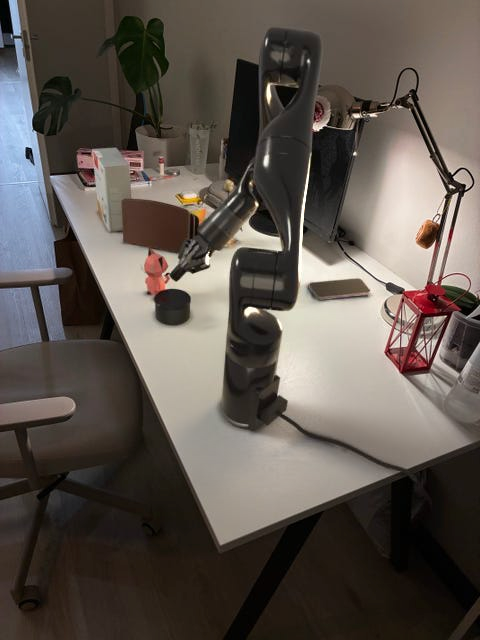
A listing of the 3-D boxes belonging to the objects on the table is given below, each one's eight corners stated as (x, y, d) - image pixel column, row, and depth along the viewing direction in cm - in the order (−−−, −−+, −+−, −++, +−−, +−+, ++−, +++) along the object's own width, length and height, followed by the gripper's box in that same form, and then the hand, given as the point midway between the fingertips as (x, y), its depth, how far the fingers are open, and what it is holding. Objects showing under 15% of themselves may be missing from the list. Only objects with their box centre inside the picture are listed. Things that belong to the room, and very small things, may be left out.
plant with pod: (249, 245, 149) (256, 179, 138) (214, 250, 145) (218, 183, 133) (238, 233, 155) (243, 169, 144) (204, 238, 151) (206, 172, 139)
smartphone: (308, 282, 133) (360, 277, 136) (307, 286, 134) (359, 281, 137) (317, 297, 127) (372, 292, 130) (317, 301, 128) (371, 295, 131)
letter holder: (188, 255, 141) (189, 208, 133) (122, 243, 144) (119, 196, 136) (199, 240, 149) (200, 195, 141) (136, 229, 152) (134, 183, 144)
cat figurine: (137, 292, 124) (134, 249, 117) (161, 284, 128) (159, 241, 121) (153, 305, 120) (151, 261, 113) (177, 296, 124) (176, 253, 117)
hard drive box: (97, 211, 160) (91, 148, 149) (121, 209, 163) (117, 147, 152) (108, 232, 149) (103, 166, 137) (134, 229, 152) (130, 164, 140)
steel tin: (197, 316, 118) (198, 299, 115) (171, 330, 113) (170, 313, 110) (174, 301, 122) (174, 284, 120) (147, 314, 117) (146, 297, 114)
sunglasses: (175, 230, 153) (173, 214, 151) (151, 218, 164) (150, 203, 161) (213, 221, 160) (213, 206, 158) (188, 210, 171) (188, 196, 168)
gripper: (200, 206, 123) (153, 258, 126) (222, 229, 113) (170, 285, 116) (219, 223, 128) (174, 273, 131) (241, 247, 119) (191, 300, 121)
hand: (172, 278), depth 123 cm, fingers closed
